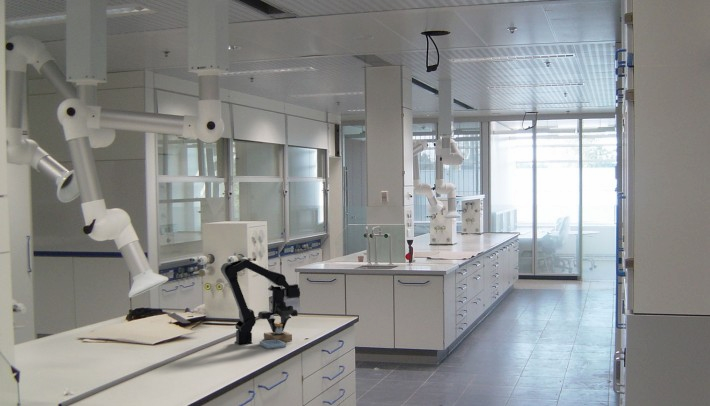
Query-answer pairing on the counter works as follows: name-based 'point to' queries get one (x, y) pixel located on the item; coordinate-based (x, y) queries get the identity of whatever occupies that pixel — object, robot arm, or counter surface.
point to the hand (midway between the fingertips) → (277, 331)
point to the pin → (278, 328)
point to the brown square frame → (278, 336)
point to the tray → (272, 344)
